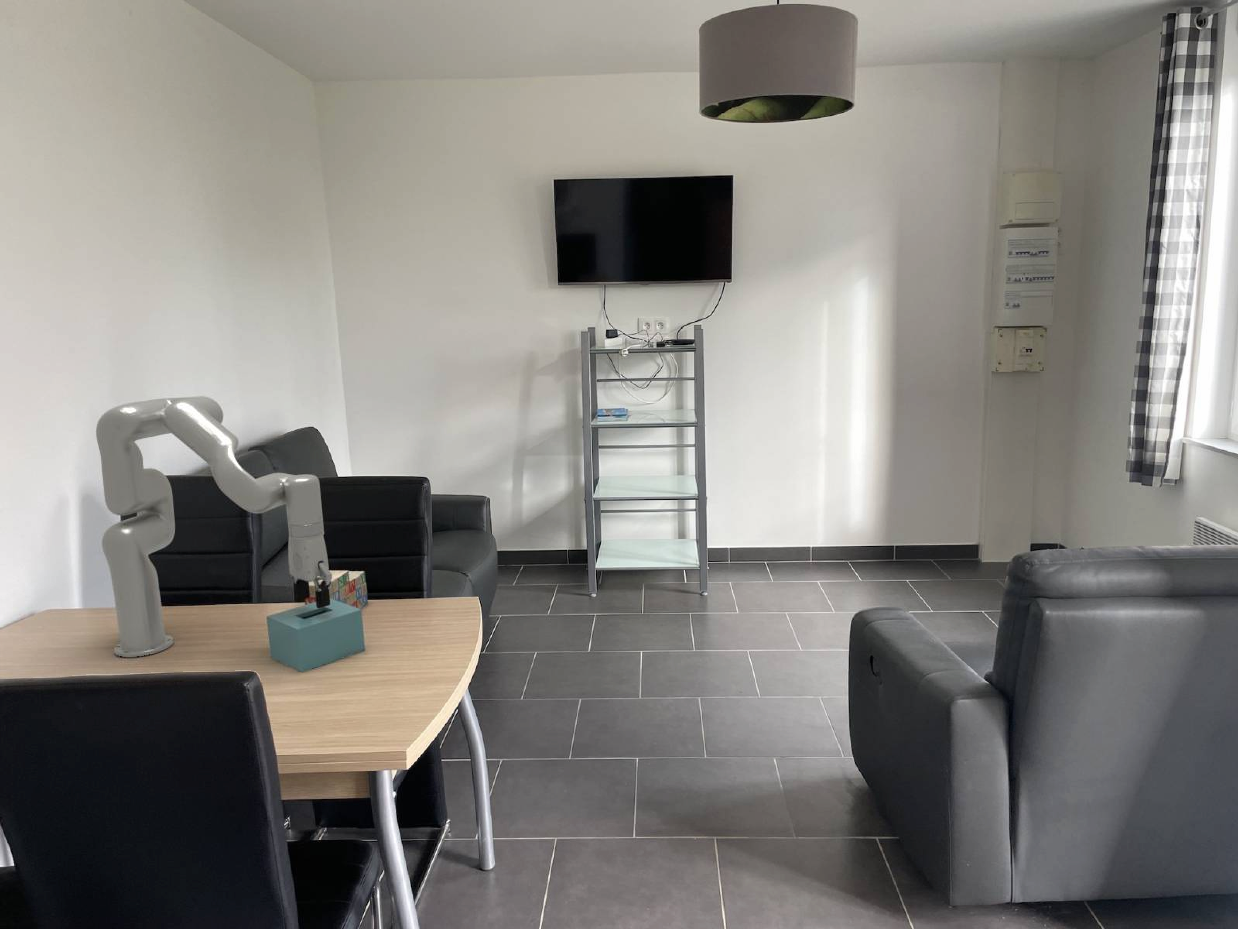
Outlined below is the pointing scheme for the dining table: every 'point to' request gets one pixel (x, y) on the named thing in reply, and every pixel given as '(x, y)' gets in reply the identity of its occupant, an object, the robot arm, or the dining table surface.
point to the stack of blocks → (344, 588)
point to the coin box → (315, 634)
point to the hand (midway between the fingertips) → (313, 602)
